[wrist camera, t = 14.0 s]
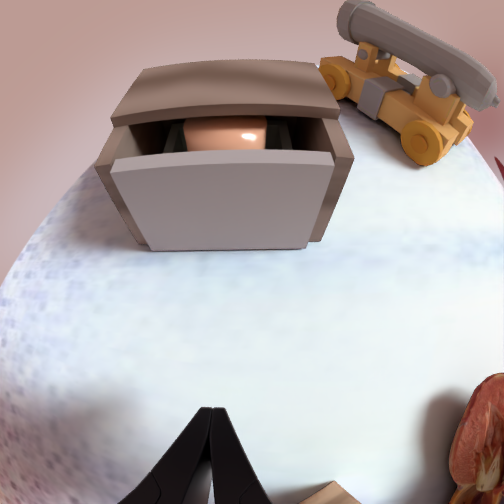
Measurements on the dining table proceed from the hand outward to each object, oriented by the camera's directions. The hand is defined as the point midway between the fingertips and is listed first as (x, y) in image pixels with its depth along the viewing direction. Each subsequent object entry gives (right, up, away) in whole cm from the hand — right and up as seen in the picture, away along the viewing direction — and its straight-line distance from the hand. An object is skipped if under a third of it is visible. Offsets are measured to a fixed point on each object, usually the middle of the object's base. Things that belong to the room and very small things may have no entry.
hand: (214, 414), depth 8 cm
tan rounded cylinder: (0, +11, +13) cm, 17 cm away
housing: (-1, +11, +14) cm, 18 cm away
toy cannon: (+22, +24, +22) cm, 39 cm away
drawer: (-1, +10, +13) cm, 17 cm away
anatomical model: (+19, -12, +2) cm, 22 cm away
